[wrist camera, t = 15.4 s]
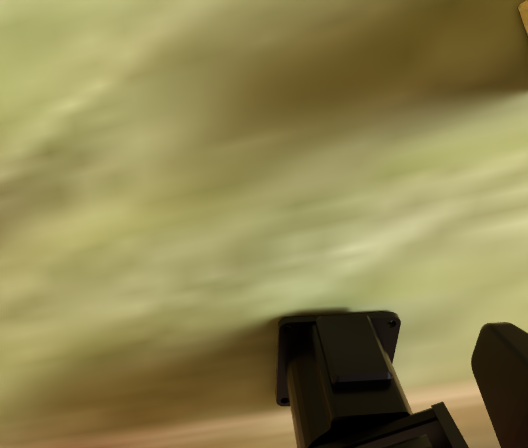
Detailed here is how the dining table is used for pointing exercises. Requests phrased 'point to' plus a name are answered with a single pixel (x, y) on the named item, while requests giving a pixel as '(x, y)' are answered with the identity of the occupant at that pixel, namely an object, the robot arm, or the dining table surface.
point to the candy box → (524, 14)
